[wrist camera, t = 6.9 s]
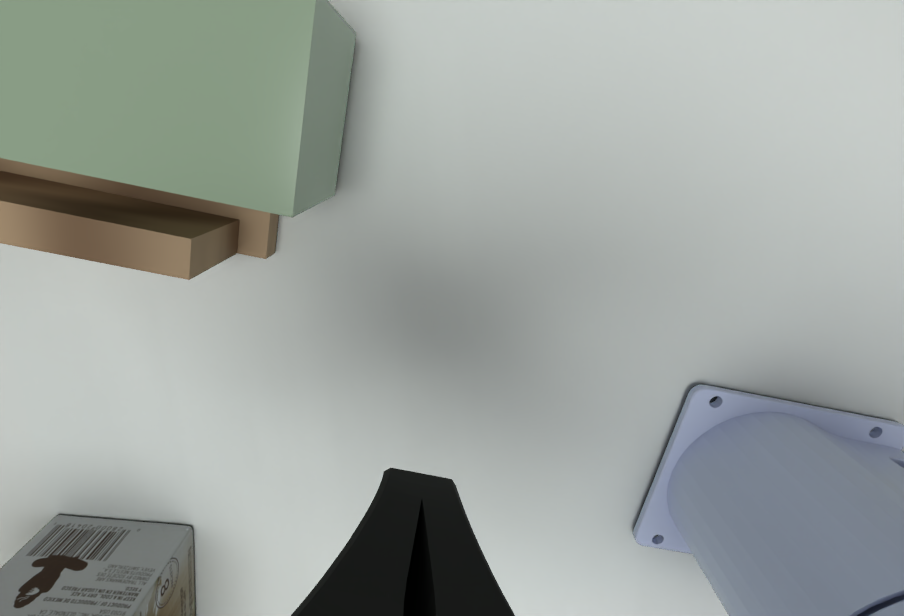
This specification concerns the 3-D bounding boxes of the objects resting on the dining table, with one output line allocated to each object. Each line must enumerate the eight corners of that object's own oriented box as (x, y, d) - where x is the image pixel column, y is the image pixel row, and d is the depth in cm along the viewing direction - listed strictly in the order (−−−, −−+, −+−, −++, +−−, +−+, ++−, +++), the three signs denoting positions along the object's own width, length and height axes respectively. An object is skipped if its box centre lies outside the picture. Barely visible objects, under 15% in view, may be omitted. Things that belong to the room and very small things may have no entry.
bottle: (317, -12, 11) (-335, -167, 10) (292, 217, 12) (-274, 102, 12) (356, 33, 16) (-83, -69, 15) (334, 195, 17) (-64, 112, 16)
